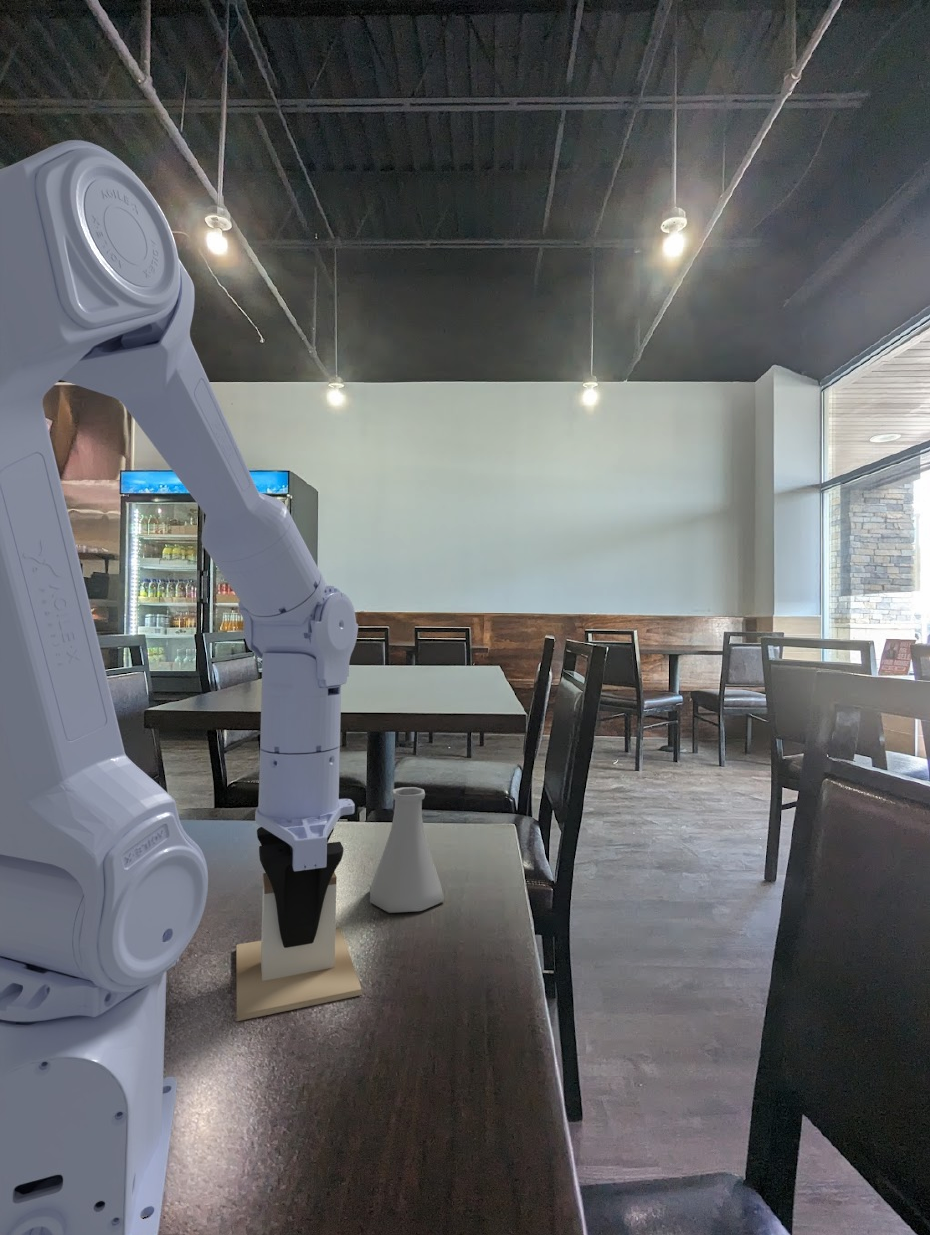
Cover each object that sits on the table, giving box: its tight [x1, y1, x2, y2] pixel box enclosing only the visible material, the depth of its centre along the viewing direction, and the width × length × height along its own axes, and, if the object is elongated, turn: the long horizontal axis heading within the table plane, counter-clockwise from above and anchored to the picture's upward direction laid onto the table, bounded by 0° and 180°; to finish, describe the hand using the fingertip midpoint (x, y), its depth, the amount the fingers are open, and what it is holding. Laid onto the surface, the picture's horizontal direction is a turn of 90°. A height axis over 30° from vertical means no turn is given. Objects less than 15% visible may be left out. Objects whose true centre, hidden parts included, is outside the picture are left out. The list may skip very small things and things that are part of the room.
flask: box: [369, 786, 445, 914], centre depth 55 cm, size 7×7×10 cm
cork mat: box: [235, 927, 363, 1022], centre depth 43 cm, size 9×8×1 cm
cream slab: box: [260, 871, 337, 981], centre depth 43 cm, size 2×5×6 cm, turn 111°
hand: (296, 932), depth 43 cm, fingers closed on cream slab, 2 cm apart
